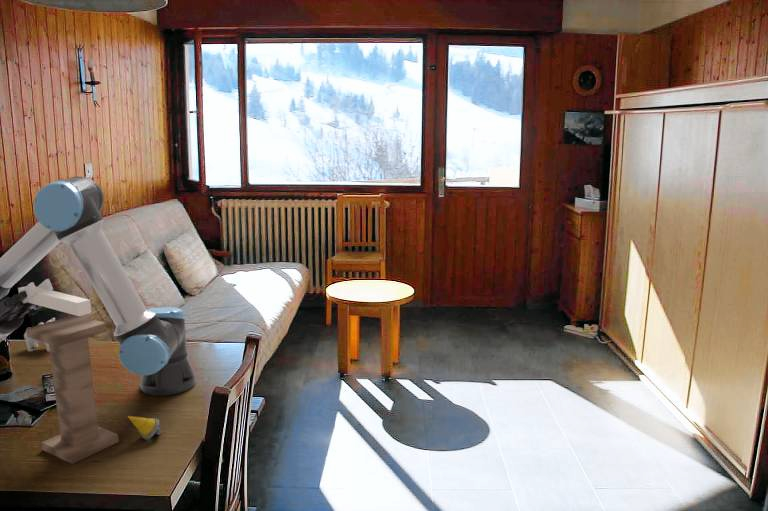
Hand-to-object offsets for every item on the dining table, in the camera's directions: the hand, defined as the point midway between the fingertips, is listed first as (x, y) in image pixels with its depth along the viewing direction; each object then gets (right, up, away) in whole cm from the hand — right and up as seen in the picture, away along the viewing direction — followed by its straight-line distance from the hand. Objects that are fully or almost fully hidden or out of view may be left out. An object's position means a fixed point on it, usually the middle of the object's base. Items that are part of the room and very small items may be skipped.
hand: (41, 286), depth 154 cm
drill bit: (+22, -38, +7) cm, 44 cm away
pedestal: (+7, -38, +4) cm, 39 cm away
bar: (+4, -5, -1) cm, 6 cm away
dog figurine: (-34, -25, +70) cm, 81 cm away
